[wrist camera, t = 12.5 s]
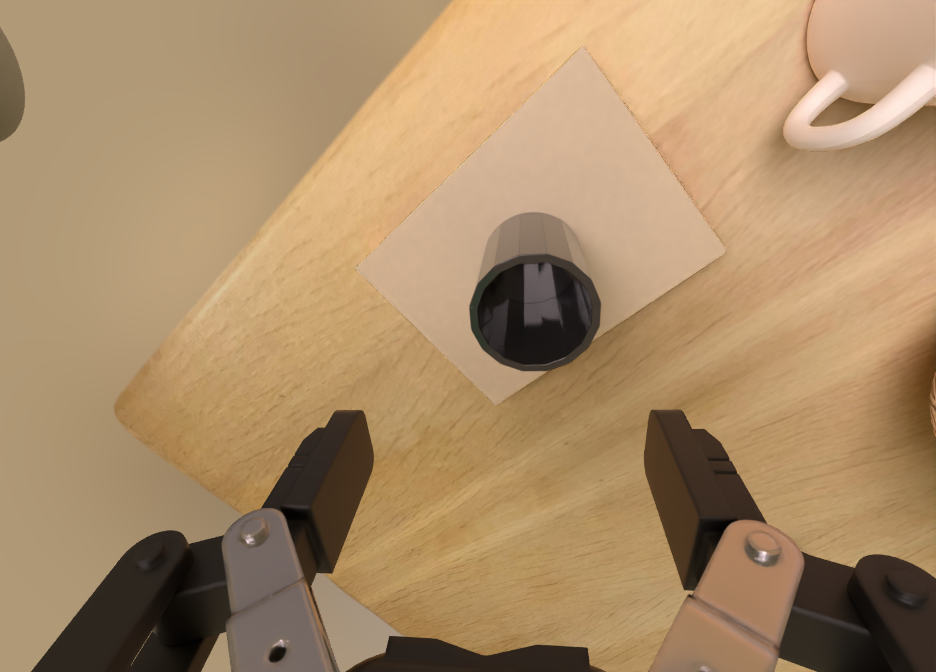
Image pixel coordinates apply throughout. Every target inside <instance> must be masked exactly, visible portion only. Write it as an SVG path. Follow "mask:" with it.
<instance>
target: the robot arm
mask: <svg viewBox="0 0 936 672" xmlns="http://www.w3.org/2000/svg"><path fill="white" fill-rule="evenodd" d="M373 462H374V453H373V447H372V443H371V439H370V434H369V430H368V426H367V421H366V417H365V414H364V412H363V411H362V410H337V411H335V412H334V413H333V415H332V417H331V418H330V420H329V422H328V424H327V425H326V427H325V428H317V429H316V430H315V431H313V432H312V433H311V434H310V435H309V436H307V437H306V438H305V439H304V440H303V441H302V443H301V445H300V446H299V448H298V450H297V451H296V453H295V456H293V458H292V459H291V461H290V462H289V464H288V467H286V469H285V471H284V472H283V474H282V475H281V477H280V479H279V480H278V482H277V483H276V485H275V487H274V488H273V490H272V492H271V493H270V495H269V496H268V498H267V500H266V501H265V503H264V504H263V506H262V508H261V509H258V510H255V511H252V512H250V513H248V514H246V515H244V516H242V517H241V518H239V519H238V520H237V521H236V522H234V523H233V524H232V525H231V526H230V528H229V529H228V530H227V532H226V533H225V535H223V536H219V537H215V538H211V539H207V540H203V541H200V542H195V543H191V544H188V542H187V540H186V538H185V537H184V535H183V534H182V533H180V532H178V531H172V530H169V531H162V532H158V533H155V534H153V535H151V536H148V537H146V538H145V539H143V540H141V541H139V542H138V543H136V544H135V545H134V546H133V547H131V548H130V549H129V550H128V551H127V552H126V553H125V554H124V555H123V556H122V557H121V559H120V560H119V561H118V562H117V564H116V565H115V566H114V568H113V569H112V570H111V571H110V573H109V574H108V575H107V576H106V578H105V579H104V580H103V581H102V583H101V584H100V585H99V586H98V588H97V589H96V590H95V592H94V593H93V594H92V596H91V597H90V598H89V599H88V601H87V602H86V603H85V604H84V605H83V607H82V608H81V609H80V610H79V612H78V613H77V614H76V616H75V617H74V618H73V619H72V621H71V622H70V623H69V624H68V626H67V627H66V628H65V630H64V631H63V632H62V633H61V635H60V636H59V637H58V638H57V640H56V641H55V642H54V644H53V645H52V646H51V647H50V648H49V650H48V651H47V652H46V654H45V655H44V656H43V657H42V659H41V660H40V661H39V662H38V664H37V665H36V666H35V667H34V669H33V670H32V671H31V672H201V671H202V668H203V666H204V664H205V662H206V660H207V658H208V656H209V654H210V652H211V650H212V648H213V646H214V644H215V642H216V640H217V638H218V636H219V634H220V633H223V632H226V633H227V641H228V649H229V657H230V664H231V672H340V671H339V668H338V666H337V663H336V660H335V657H334V654H333V651H332V648H331V645H330V642H329V639H328V636H327V633H326V630H325V627H324V624H323V621H322V618H321V614H320V611H319V608H318V605H317V602H316V599H315V596H314V593H313V590H312V587H311V585H312V582H313V580H314V578H315V575H316V573H330V574H332V573H333V570H334V568H335V565H336V563H337V560H338V558H339V555H340V552H341V550H342V547H343V545H344V542H345V540H346V537H347V534H348V532H349V529H350V527H351V524H352V521H353V519H354V516H355V514H356V511H357V509H358V506H359V503H360V501H361V498H362V496H363V493H364V491H365V488H366V485H367V483H368V480H369V478H370V475H371V472H372V469H373ZM644 466H645V473H646V477H647V480H648V483H649V486H650V489H651V492H652V495H653V498H654V501H655V504H656V507H657V510H658V513H659V516H660V519H661V522H662V525H663V528H664V531H665V534H666V537H667V540H668V543H669V546H670V549H671V552H672V555H673V558H674V561H675V564H676V567H677V570H678V573H679V576H680V579H681V583H682V586H683V589H684V590H692V591H694V593H693V594H692V595H690V594H689V595H688V596H687V597H686V599H685V601H684V602H683V604H682V606H681V608H680V610H679V612H678V614H677V616H676V618H675V620H674V622H673V624H672V626H671V628H670V630H669V632H668V633H667V635H666V637H665V639H664V641H663V643H662V645H661V647H660V649H659V651H658V653H657V655H656V657H655V659H654V661H653V663H652V665H651V667H650V669H649V671H648V672H774V671H775V667H776V664H777V661H778V657H779V658H781V659H784V660H787V661H790V662H792V663H795V664H798V665H800V666H803V667H806V668H809V669H811V670H814V671H817V672H936V579H935V578H934V577H933V576H931V575H930V574H929V573H927V572H926V571H924V570H923V569H921V568H919V567H917V566H915V565H913V564H911V563H909V562H907V561H905V560H902V559H899V558H896V557H892V556H887V555H868V556H865V557H863V558H862V559H860V560H859V562H858V563H857V565H856V567H855V568H853V567H849V566H846V565H842V564H838V563H835V562H831V561H828V560H824V559H821V558H817V557H814V556H811V555H808V554H806V553H804V552H801V551H800V549H799V547H798V546H797V545H796V543H795V542H794V541H793V540H792V539H791V538H790V537H788V536H787V535H786V534H785V533H783V532H782V531H780V530H779V529H777V528H775V527H773V526H771V525H768V524H767V523H766V521H765V519H764V517H763V516H762V514H761V512H760V510H759V509H758V507H757V505H756V503H755V502H754V500H753V498H752V497H751V495H750V493H749V491H748V490H747V488H746V486H745V484H744V483H743V481H742V479H741V477H740V476H739V474H737V470H736V469H735V467H734V465H733V463H732V462H731V461H730V460H729V457H728V455H727V453H726V451H725V450H724V448H723V446H722V444H721V443H720V442H719V441H718V440H717V439H716V438H714V437H713V436H712V435H711V434H710V433H708V432H707V431H706V430H705V429H692V428H691V426H690V424H689V422H688V420H687V418H686V416H685V414H684V412H683V411H682V410H651V411H650V414H649V420H648V428H647V436H646V443H645V451H644ZM151 631H152V633H151ZM150 633H151V634H150ZM149 634H150V636H149ZM148 636H149V638H148ZM147 638H148V639H147ZM146 639H147V641H146ZM145 641H146V642H145ZM144 643H145V644H144ZM143 644H144V646H143ZM142 646H143V648H142V649H141V647H142ZM140 649H141V651H140ZM139 651H140V652H139ZM138 652H139V654H138ZM137 654H138V655H137ZM136 655H137V657H136ZM135 657H136V659H135ZM134 659H135V660H134ZM133 660H134V662H133ZM132 662H133V663H132ZM131 664H132V665H131ZM346 672H606V671H604V670H602V669H599V668H597V667H594V666H591V665H590V664H589V655H588V648H584V647H567V646H550V645H533V646H529V647H524V648H520V649H516V650H511V651H507V652H502V653H498V654H493V655H488V656H485V655H480V654H477V653H474V652H471V651H469V650H466V649H463V648H460V647H458V646H455V645H452V644H449V643H447V642H444V641H441V640H438V639H432V638H415V637H398V636H389V640H388V644H387V648H386V653H383V654H379V655H376V656H374V657H371V658H368V659H366V660H364V661H362V662H360V663H358V664H356V665H355V666H353V667H352V668H351V669H349V670H347V671H346Z"/></svg>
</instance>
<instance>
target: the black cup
mask: <svg viewBox="0 0 936 672" xmlns="http://www.w3.org/2000/svg"><path fill="white" fill-rule="evenodd" d="M469 313H470V325H471V330H472V332H473V334H474V336H475V338H476V339H477V341H478V343H479V345H480V347H481V348H482V349H483V350H484V351H485V352H486V353H487V354H488V355H490V356H491V357H492V358H493V359H495V360H496V361H497V362H498V363H500V364H502V365H505V366H508V367H511V368H514V369H517V370H520V371H549V370H552V369H555V368H557V367H560V366H563V365H566V364H569V363H571V362H572V361H573V360H574V359H575V358H577V357H578V356H579V355H580V354H581V353H583V352H584V351H585V350H586V349H587V348H588V347H589V346H590V344H591V342H592V340H593V338H594V337H595V335H596V333H597V331H598V329H599V327H600V317H601V300H600V298H599V295H598V292H597V289H596V287H595V284H594V281H593V279H592V276H591V273H590V270H589V268H588V265H587V262H586V260H585V257H584V254H583V251H582V249H581V247H580V244H579V242H578V239H577V237H576V235H575V233H574V232H573V231H572V230H571V228H570V227H569V226H568V225H567V224H565V223H564V222H563V221H562V220H560V219H558V218H557V217H554V216H552V215H549V214H546V213H540V212H528V213H522V214H518V215H515V216H513V217H511V218H509V219H507V220H505V221H504V222H503V223H501V224H500V225H499V226H498V227H497V228H496V229H495V230H494V231H493V233H492V234H491V235H490V237H489V239H488V240H487V243H486V246H485V249H484V252H483V255H482V258H481V262H480V266H479V270H478V274H477V278H476V281H475V285H474V289H473V293H472V297H471V301H470V305H469Z"/></svg>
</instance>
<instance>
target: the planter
mask: <svg viewBox="0 0 936 672" xmlns="http://www.w3.org/2000/svg"><path fill="white" fill-rule="evenodd" d="M930 415H931V422H932V428H933V431H934V434H935V437H936V372H935V375H934V379H933V382H932V387H931V395H930Z"/></svg>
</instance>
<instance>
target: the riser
mask: <svg viewBox="0 0 936 672" xmlns="http://www.w3.org/2000/svg"><path fill="white" fill-rule="evenodd" d="M528 212H540V213H546V214H549V215H552V216H554V217H557V218H558V219H560V220H562V221H563V222H564V223H565V224H567V225H568V226H569V227H570V228H571V230H572V231H573V232H574V233H575V235H576V237H577V239H578V242H579V244H580V247H581V249H582V251H583V254H584V257H585V260H586V262H587V265H588V268H589V270H590V273H591V276H592V279H593V281H594V284H595V287H596V289H597V292H598V295H599V298H600V300H601V317H600V327H599V329H598V331H597V333H596V335H595V337H594V338H593V340H592V341H594V340H595V339H597V338H598V337H600V336H601V335H603V334H604V333H606V332H607V331H609V330H610V329H612V328H613V327H615V326H616V325H618V324H620V323H621V322H623V321H624V320H626V319H627V318H629V317H630V316H632V315H633V314H635V313H636V312H638V311H639V310H641V309H642V308H644V307H645V306H647V305H648V304H650V303H651V302H653V301H654V300H656V299H657V298H659V297H660V296H662V295H663V294H665V293H666V292H668V291H669V290H671V289H672V288H674V287H675V286H677V285H678V284H680V283H681V282H683V281H684V280H686V279H687V278H689V277H690V276H692V275H693V274H695V273H696V272H698V271H699V270H701V269H702V268H704V267H705V266H707V265H708V264H710V263H711V262H713V261H714V260H716V259H717V258H719V257H720V256H722V255H723V254H725V253H726V252H727V249H726V248H725V246H724V245H723V244H722V242H721V241H720V239H719V238H718V236H717V235H716V234H715V232H714V231H713V229H712V228H711V226H710V225H709V224H708V222H707V221H706V219H705V218H704V216H703V215H702V214H701V212H700V211H699V209H698V208H697V206H696V205H695V204H694V202H693V201H692V199H691V198H690V196H689V195H688V194H687V192H686V191H685V189H684V188H683V186H682V185H681V184H680V182H679V181H678V179H677V178H676V176H675V175H674V174H673V172H672V171H671V169H670V168H669V166H668V165H667V164H666V162H665V161H664V159H663V158H662V156H661V155H660V154H659V152H658V151H657V149H656V148H655V146H654V145H653V143H652V142H651V141H650V139H649V138H648V136H647V135H646V133H645V132H644V131H643V129H642V128H641V126H640V125H639V123H638V122H637V121H636V119H635V118H634V116H633V115H632V113H631V112H630V111H629V109H628V108H627V106H626V105H625V103H624V102H623V101H622V99H621V98H620V96H619V95H618V93H617V92H616V91H615V89H614V88H613V86H612V85H611V83H610V82H609V81H608V79H607V78H606V76H605V75H604V73H603V72H602V71H601V69H600V68H599V66H598V65H597V63H596V62H595V61H594V59H593V58H592V56H591V55H590V53H589V52H588V51H587V49H586V48H585V46H582V47H580V48H579V49H578V50H577V51H576V52H575V53H574V54H573V55H572V56H570V57H569V58H568V59H567V60H566V61H565V62H564V63H563V64H562V65H561V66H560V67H559V68H558V69H557V70H556V71H555V72H554V73H553V74H552V75H551V76H550V77H549V79H548V80H547V81H545V82H544V83H543V84H542V85H541V86H540V87H539V88H538V89H537V90H536V91H535V92H534V93H533V94H532V95H531V96H530V97H529V98H528V99H527V100H526V101H525V102H524V103H523V104H522V105H521V106H520V107H519V108H518V109H517V110H516V111H515V112H514V113H513V114H512V115H511V116H510V117H509V118H508V119H507V120H506V121H505V122H504V123H502V124H501V125H500V126H499V127H498V128H497V129H496V130H495V131H494V132H493V133H492V134H491V135H490V136H489V137H488V138H487V139H486V140H485V141H484V142H483V143H482V144H481V145H480V146H479V147H478V148H477V149H476V150H475V151H474V152H473V153H472V154H471V155H470V156H469V157H468V158H467V159H466V160H465V161H464V162H463V163H462V164H461V165H459V166H458V167H457V168H456V169H455V170H454V171H453V172H452V173H451V174H450V175H449V176H448V177H447V178H446V179H445V180H444V181H443V182H442V183H441V184H440V185H439V186H438V187H437V188H436V189H435V190H434V191H433V192H432V193H431V194H430V195H429V196H428V197H427V198H426V199H425V200H424V201H423V202H422V203H421V204H420V205H419V206H418V207H417V208H415V209H414V210H413V211H412V212H411V213H410V214H409V215H408V216H407V217H406V218H405V219H404V220H403V221H402V222H401V223H400V224H399V225H398V226H397V227H396V228H395V229H394V230H393V231H392V232H391V233H390V234H389V235H388V236H387V237H385V238H384V239H383V240H382V241H381V242H380V243H379V244H378V245H377V246H376V247H375V248H374V249H373V250H372V251H371V252H370V253H369V254H368V255H367V256H366V257H365V258H364V259H363V260H362V261H361V262H360V263H359V264H358V265H357V266H356V267H355V269H356V270H357V271H358V272H359V273H360V274H361V275H362V276H363V277H364V278H365V279H366V280H367V281H368V282H369V283H370V284H371V285H372V286H373V287H374V288H375V289H376V290H377V291H378V292H379V293H380V294H381V295H382V296H383V297H384V298H385V299H386V300H387V301H389V302H390V303H391V304H392V305H393V306H394V307H395V308H396V309H397V310H398V311H399V312H400V313H401V314H402V315H403V316H404V317H405V318H406V319H407V320H408V321H409V322H410V323H411V324H412V325H413V326H414V327H415V328H416V329H417V330H418V331H419V332H420V333H421V334H422V335H423V336H424V337H425V338H426V339H428V340H429V341H430V342H431V343H432V344H433V345H434V346H435V347H436V348H437V349H438V350H439V351H440V352H441V353H442V354H443V355H444V356H445V357H446V358H447V359H448V360H449V361H450V362H451V363H452V364H453V365H454V366H455V367H456V368H457V369H458V370H459V371H460V372H461V373H462V374H463V375H464V376H466V377H467V378H468V379H469V380H470V381H471V382H472V383H473V384H474V385H475V386H476V387H477V388H478V389H479V390H480V391H481V392H482V393H483V394H484V395H485V396H486V397H487V398H488V399H489V400H490V401H491V402H492V403H493V404H494V405H495V406H496V405H498V404H499V403H501V402H502V401H504V400H505V399H507V398H508V397H510V396H511V395H513V394H514V393H516V392H517V391H519V390H520V389H522V388H523V387H525V386H526V385H528V384H529V383H531V382H532V381H534V380H535V379H537V378H538V377H540V376H541V375H543V374H544V373H546V372H547V371H520V370H517V369H514V368H511V367H508V366H505V365H502V364H500V363H498V362H497V361H496V360H495V359H493V358H492V357H491V356H490V355H488V354H487V353H486V352H485V351H484V350H483V349H482V348H481V347H480V345H479V343H478V341H477V339H476V338H475V336H474V334H473V332H472V330H471V325H470V313H469V305H470V301H471V297H472V293H473V289H474V285H475V281H476V278H477V274H478V270H479V266H480V262H481V258H482V255H483V252H484V249H485V246H486V243H487V240H488V239H489V237H490V235H491V234H492V233H493V231H494V230H495V229H496V228H497V227H498V226H499V225H500V224H501V223H503V222H504V221H505V220H507V219H509V218H511V217H513V216H515V215H518V214H522V213H528Z"/></svg>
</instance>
